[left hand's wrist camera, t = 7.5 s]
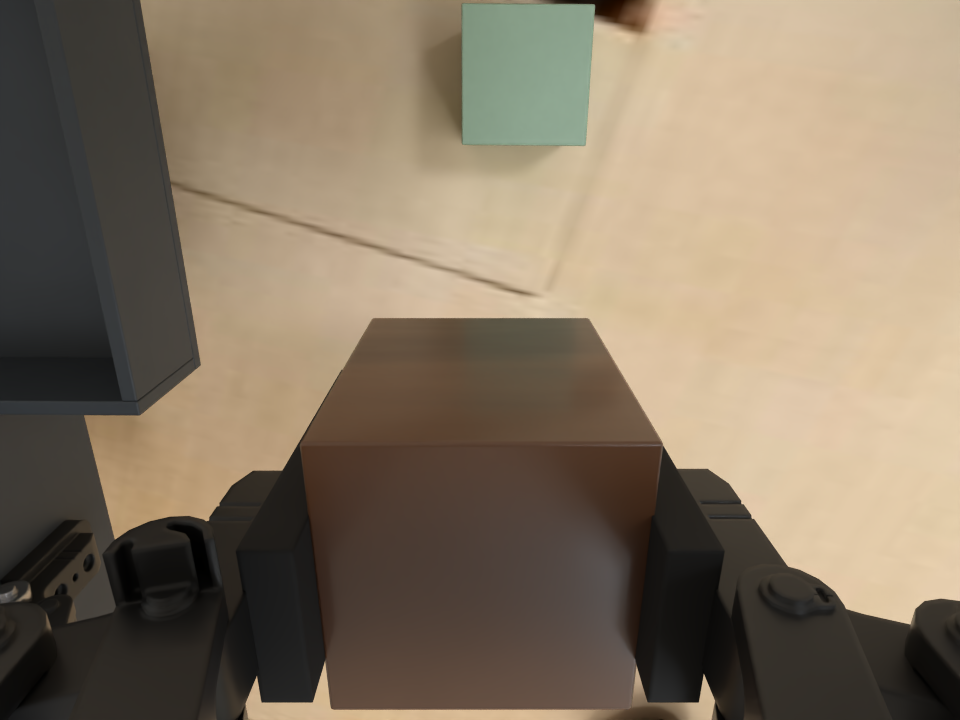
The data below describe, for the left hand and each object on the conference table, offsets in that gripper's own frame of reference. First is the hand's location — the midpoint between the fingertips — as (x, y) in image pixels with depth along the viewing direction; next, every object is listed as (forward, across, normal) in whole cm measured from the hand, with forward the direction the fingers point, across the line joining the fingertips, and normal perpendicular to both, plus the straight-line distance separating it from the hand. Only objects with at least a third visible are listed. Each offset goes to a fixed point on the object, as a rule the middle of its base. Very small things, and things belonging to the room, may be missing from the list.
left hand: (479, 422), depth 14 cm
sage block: (+19, +2, +9) cm, 21 cm away
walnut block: (0, 0, 0) cm, 0 cm away
